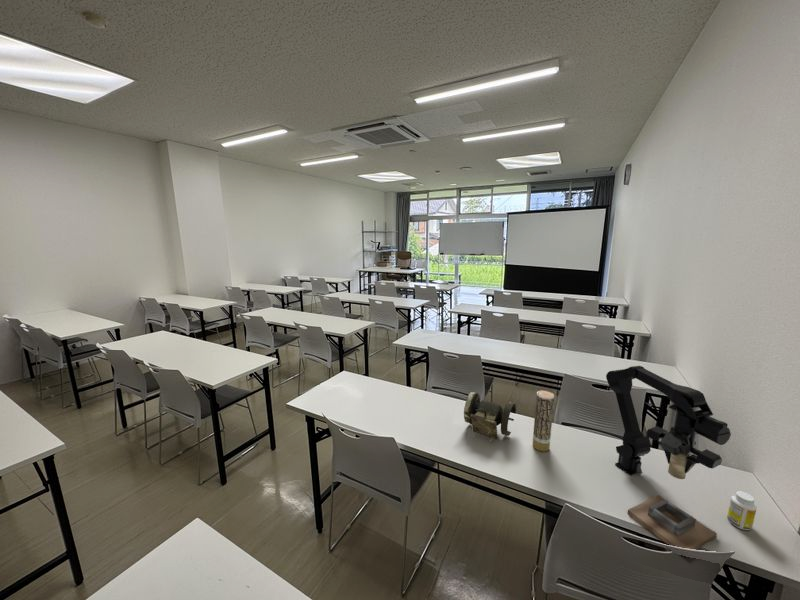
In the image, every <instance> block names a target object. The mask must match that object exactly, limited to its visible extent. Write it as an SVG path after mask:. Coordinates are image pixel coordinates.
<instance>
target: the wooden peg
mask: <svg viewBox="0 0 800 600" xmlns="http://www.w3.org/2000/svg"><path fill="white" fill-rule="evenodd" d="M689 456H691V453H690V452H689V453H688V454H687V455H684V454H679V455H673V454H672V453H671V457H670V463H669V464H668V469H667V472H668V474H669V475H670V476H671V477H673V478H674V479H675V478H676V479H679V480H684V479H686V476H687V473H685V467H686V464H687V457H689Z"/></svg>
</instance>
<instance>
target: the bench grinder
mask: <svg viewBox="0 0 800 600" xmlns="http://www.w3.org/2000/svg"><path fill="white" fill-rule="evenodd" d="M463 408H464V410H463V419H464V422H466V423H468V424H470V425H471V430H472V433H473V437H475V436H476V435H475V434H479V435H481V436H484V437H487V438H491V439H490V440H489V443H491V441H493V440H498V439H499V437H498V427H497V426H499V425H500V434H501V435H503V436H507V437H509V436H510V435H511V433H512V432H511V431H509V430H508V427H509V426H508V425H509V421H512V422H514V421H515V419H514V418H512V417H510V415H511V413H512V414H516V412H517V405H516V403H513V402H511V401H507V402H506V404H505V405H504V408H503V407H502V406H501V405H500V404H498V403H494V402H491V401H488V400H481V396H480V394H479V393H478V392H474V391H471V392H470V393H469V394H468V395H467V398H466V400H465V405H464V407H463Z"/></svg>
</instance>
